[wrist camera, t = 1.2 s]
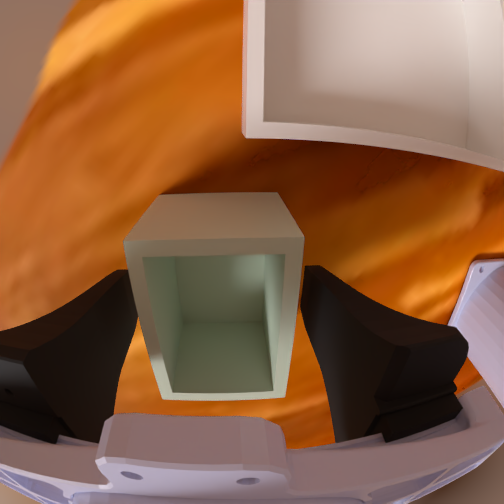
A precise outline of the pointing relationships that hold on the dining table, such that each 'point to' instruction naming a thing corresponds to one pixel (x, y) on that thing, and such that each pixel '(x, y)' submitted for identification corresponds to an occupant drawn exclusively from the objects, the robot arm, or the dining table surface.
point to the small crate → (217, 293)
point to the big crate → (378, 74)
